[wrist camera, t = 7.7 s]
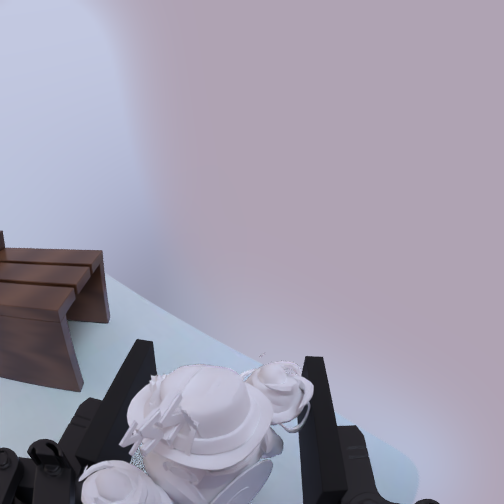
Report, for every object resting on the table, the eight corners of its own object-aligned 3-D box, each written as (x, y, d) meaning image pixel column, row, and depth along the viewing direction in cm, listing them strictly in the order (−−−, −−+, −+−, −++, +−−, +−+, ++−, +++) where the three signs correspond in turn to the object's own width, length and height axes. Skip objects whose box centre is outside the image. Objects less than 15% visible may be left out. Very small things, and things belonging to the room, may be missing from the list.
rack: (110, 317, 33) (101, 231, 30) (80, 392, 22) (52, 284, 19) (11, 308, 31) (-5, 230, 28) (-36, 367, 20) (-69, 273, 17)
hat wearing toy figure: (176, 603, 7) (61, 515, 3) (118, 548, 9) (-7, 370, 5) (300, 495, 13) (359, 301, 9) (243, 460, 16) (256, 265, 12)
